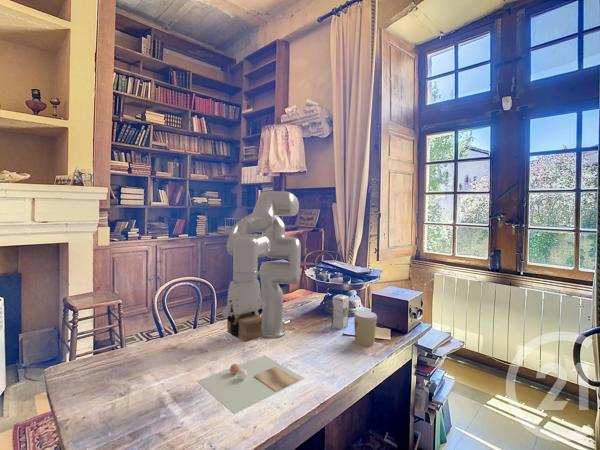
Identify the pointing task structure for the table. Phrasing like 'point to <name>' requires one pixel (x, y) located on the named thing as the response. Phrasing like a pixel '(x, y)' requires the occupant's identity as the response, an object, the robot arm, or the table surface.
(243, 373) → the cream ball
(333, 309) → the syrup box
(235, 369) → the terracotta ball
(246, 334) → the walnut cover
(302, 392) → the table surface
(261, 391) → the sage board
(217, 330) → the table surface
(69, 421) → the table surface
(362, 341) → the coffee cup
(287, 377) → the cork pad
